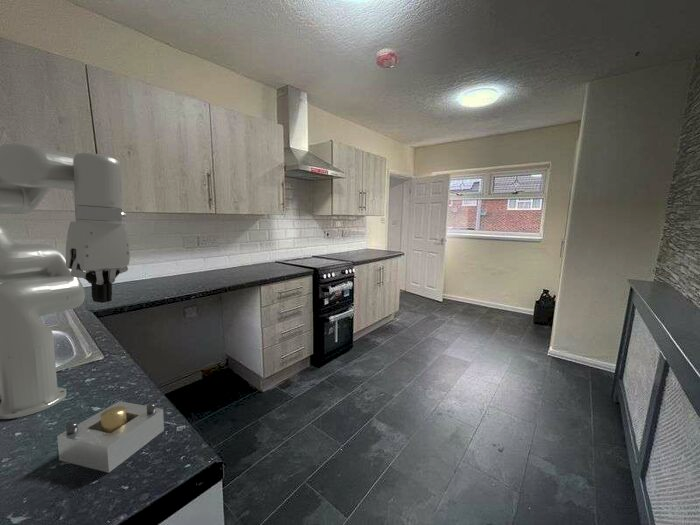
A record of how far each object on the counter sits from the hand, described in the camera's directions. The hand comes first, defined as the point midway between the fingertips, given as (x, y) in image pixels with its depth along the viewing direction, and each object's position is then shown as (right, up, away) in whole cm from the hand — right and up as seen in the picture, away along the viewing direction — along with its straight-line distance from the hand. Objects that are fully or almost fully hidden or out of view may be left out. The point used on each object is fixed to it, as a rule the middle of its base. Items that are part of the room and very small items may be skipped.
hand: (102, 301), depth 64 cm
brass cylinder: (+5, -29, -3) cm, 30 cm away
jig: (+5, -29, -3) cm, 30 cm away
